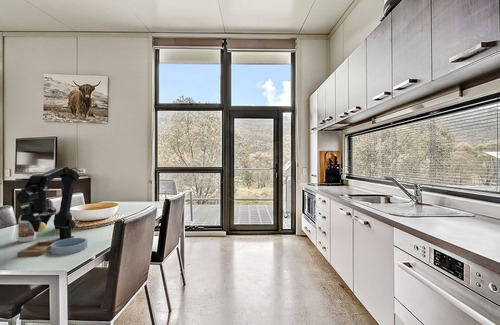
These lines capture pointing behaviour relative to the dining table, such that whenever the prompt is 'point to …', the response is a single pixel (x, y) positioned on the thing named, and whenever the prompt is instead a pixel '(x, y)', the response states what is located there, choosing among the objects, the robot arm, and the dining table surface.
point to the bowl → (68, 246)
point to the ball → (42, 227)
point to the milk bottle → (25, 230)
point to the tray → (36, 249)
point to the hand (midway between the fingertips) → (39, 230)
